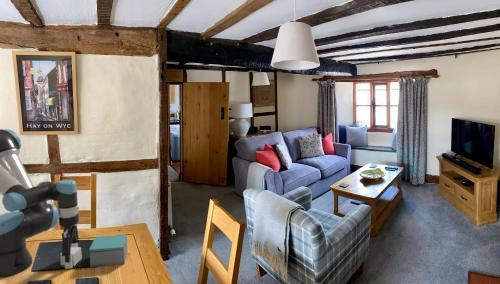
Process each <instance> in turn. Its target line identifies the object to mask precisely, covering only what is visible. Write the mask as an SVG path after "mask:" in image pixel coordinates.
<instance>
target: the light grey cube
mask: <svg viewBox="0 0 500 284" xmlns="http://www.w3.org/2000/svg"><path fill="white" fill-rule="evenodd" d="M71 255H72V267H73V266H75V265H76V264H77V263H78V262H79V261H80V260H81V259H82V258H83V257H82V247H80V246H78V247H71ZM59 257H60V266H61V265H65V262H64V256H62V252H61V253H59ZM81 261H82V260H81ZM81 261H80V262H81ZM80 262H79V263H80ZM79 263H78V264H79ZM78 264H77V265H78ZM77 265H76V266H77Z"/></svg>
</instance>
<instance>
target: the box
mask: <svg viewBox="0 0 500 284" xmlns="http://www.w3.org/2000/svg"><path fill="white" fill-rule="evenodd" d="M127 253H128V238H127V239H126V242H125V246H124V249H119V250H105V251H91V252H89V264H90V268H98V267H108V266H117V265H119V266H120V265H124V264H125V262H126V259H127Z"/></svg>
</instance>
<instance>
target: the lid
mask: <svg viewBox="0 0 500 284" xmlns="http://www.w3.org/2000/svg"><path fill="white" fill-rule="evenodd" d="M126 239H127V240H128V234H122V235H121V234H119V235H117V234H116V235H105V236H104V235H100V236H95V237H94V239H93V241H92V243H91V245H90V248H89V253H90V252H91V251H105V250H119V249H124V246H125V242H126Z"/></svg>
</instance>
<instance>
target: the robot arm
mask: <svg viewBox="0 0 500 284" xmlns="http://www.w3.org/2000/svg"><path fill="white" fill-rule="evenodd" d="M21 148H22V141H21V138H20V137H19V135H18V133H17V132H15V131H14V130H12V129H8V128H6V129H3V128H0V195H1V196H2V198H1V199H2V200H1V201H2V203H1V204H2V205H3V207H4V209H5V210H6V211H7V212H5V213H3V214H0V278H2V277H9V276H12V275H16V274H19V273H22V272H23V271H25V270H27V269H29V268H30V267H31V266H32V265H33V257H32V256H33V255H31V252H30V251H29V249H28V248H27V241H26V240H28V239H30V238H32V237H35V236H37V235H39V234H41V233H42V234H43V233H44V232H47V231H49V230H51V229H53V228H55V227H56V225H59V226H61V227H63V232H62V233H61V240H62V241H61V253H62V256H64V262H65V266H64V269H65V270H67V269H69V270H70V269H73V266H72V255H71V247H79V246H78V245H79V243H80V241H81V240H80V237H79V230H78V223H79V220H80V217H79V209H80V207H79V206H78V204H79V203H78V201H79V200H78V188H77V187H78V186H77V181H75V180H74V179H62V180H59V181H57V182H54V181H41V182H39V183H38V184H37V185H34V183H33V181H32V180H31V178H30V176H29V174H28V172H27V170H26V168H25V166H24V164H23V162H22V160H21V159H20V157H19V154H20V150H21ZM48 201H56V202H57V206H56V205H54V203H48ZM58 223H59V224H58Z"/></svg>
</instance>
